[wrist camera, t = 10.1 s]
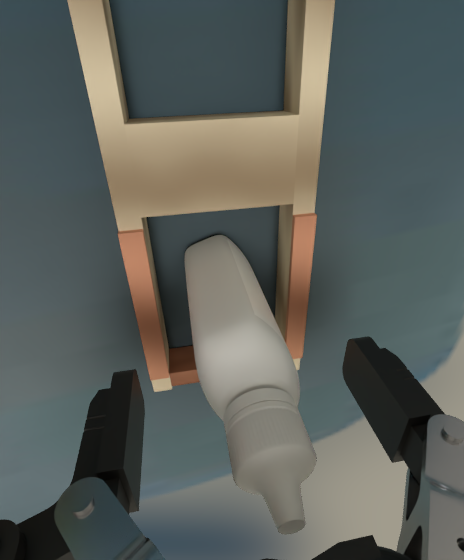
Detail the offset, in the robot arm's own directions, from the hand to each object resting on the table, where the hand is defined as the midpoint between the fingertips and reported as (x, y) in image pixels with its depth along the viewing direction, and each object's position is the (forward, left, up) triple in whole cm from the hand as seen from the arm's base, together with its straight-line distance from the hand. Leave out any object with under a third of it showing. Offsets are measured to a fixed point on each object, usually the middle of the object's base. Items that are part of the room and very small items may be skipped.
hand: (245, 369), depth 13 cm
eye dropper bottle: (0, 0, -7) cm, 7 cm away
